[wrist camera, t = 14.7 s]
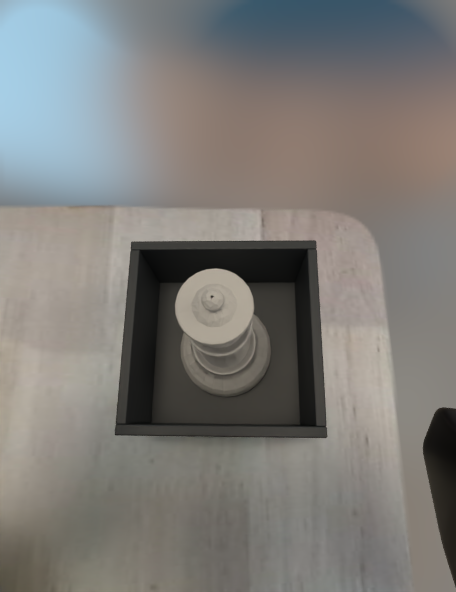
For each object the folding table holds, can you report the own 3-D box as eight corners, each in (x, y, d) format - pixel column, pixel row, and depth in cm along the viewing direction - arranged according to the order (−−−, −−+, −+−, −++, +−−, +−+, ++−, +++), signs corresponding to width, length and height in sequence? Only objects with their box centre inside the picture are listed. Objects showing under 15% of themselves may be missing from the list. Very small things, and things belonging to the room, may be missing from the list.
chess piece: (270, 312, 21) (293, 224, 12) (269, 398, 20) (293, 381, 10) (186, 309, 21) (139, 221, 12) (180, 395, 20) (122, 375, 10)
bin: (307, 433, 20) (327, 438, 15) (145, 431, 20) (114, 435, 15) (300, 278, 22) (316, 240, 17) (155, 279, 22) (131, 241, 18)
